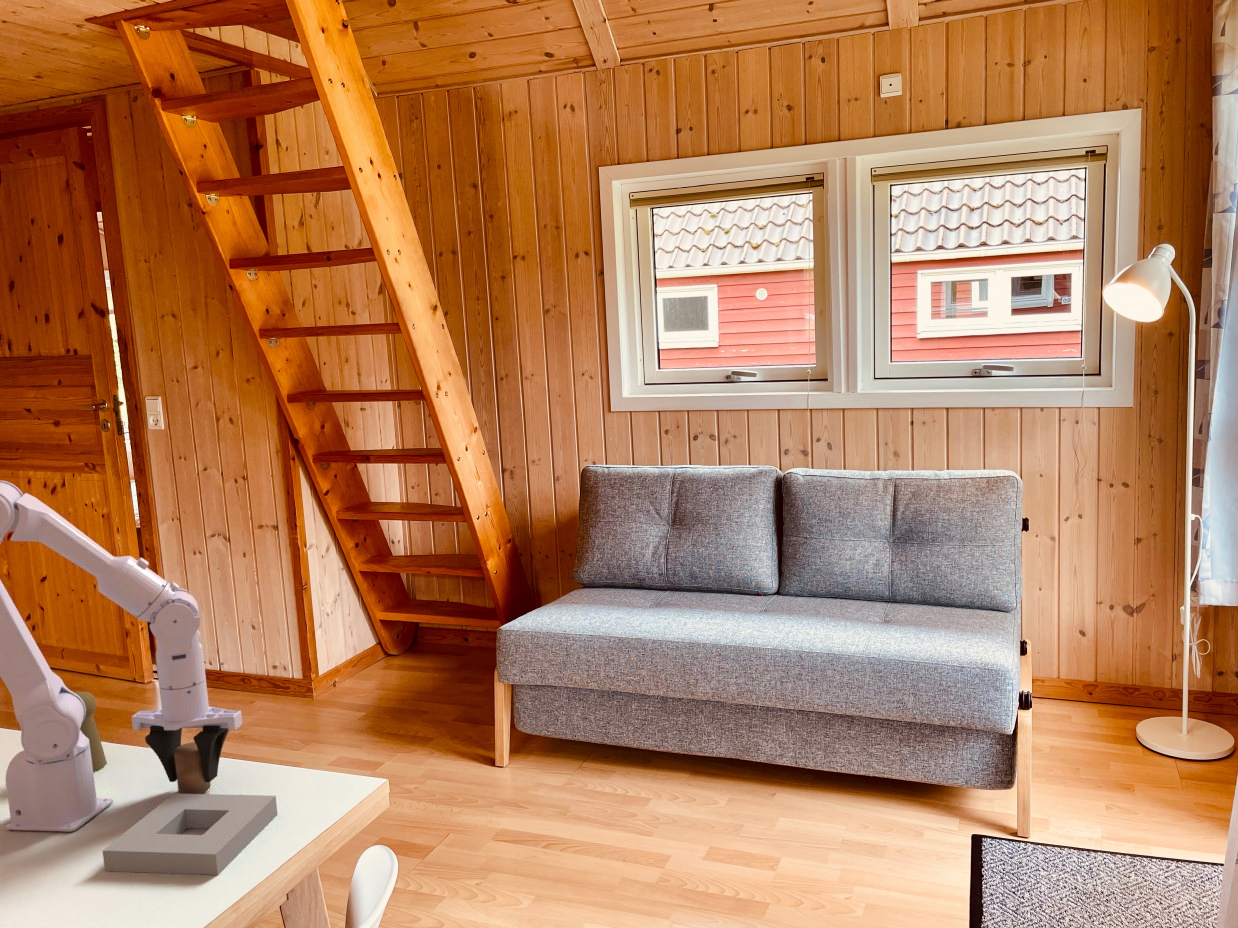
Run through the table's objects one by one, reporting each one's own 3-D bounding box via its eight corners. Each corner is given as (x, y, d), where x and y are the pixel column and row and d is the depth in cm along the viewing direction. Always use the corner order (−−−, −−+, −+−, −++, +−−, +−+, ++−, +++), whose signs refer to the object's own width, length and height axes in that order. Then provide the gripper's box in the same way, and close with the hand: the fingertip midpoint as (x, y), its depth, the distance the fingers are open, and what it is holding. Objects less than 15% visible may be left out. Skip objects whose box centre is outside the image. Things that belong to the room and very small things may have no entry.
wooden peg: (172, 797, 131) (167, 754, 131) (189, 783, 135) (184, 741, 135) (200, 797, 131) (195, 754, 130) (216, 783, 135) (211, 742, 134)
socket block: (104, 870, 113) (102, 850, 113) (175, 811, 127) (173, 793, 127) (217, 874, 111) (215, 854, 111) (277, 814, 125) (275, 795, 125)
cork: (86, 778, 139) (77, 703, 137) (49, 776, 140) (39, 702, 138) (116, 759, 144) (107, 687, 143) (80, 758, 146) (71, 686, 144)
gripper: (113, 693, 128) (125, 792, 130) (218, 692, 126) (229, 792, 128) (145, 674, 135) (156, 768, 137) (245, 673, 133) (255, 768, 135)
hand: (193, 778), depth 133 cm, fingers open, 4 cm apart
